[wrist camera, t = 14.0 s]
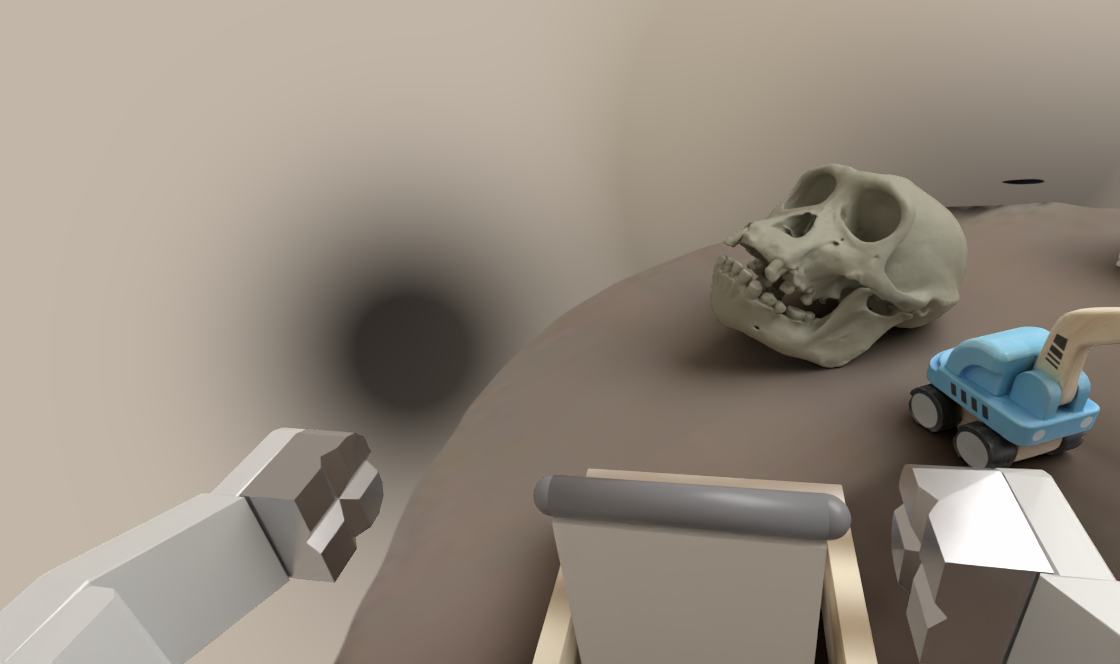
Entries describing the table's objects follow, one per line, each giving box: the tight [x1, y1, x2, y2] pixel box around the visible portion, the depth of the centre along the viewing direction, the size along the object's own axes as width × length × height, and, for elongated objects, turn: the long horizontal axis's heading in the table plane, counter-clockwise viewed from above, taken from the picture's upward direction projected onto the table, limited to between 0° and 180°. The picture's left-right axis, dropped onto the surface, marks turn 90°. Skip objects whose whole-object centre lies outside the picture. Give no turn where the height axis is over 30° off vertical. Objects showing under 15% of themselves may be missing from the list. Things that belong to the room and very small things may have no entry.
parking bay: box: [532, 469, 877, 664], centre depth 38 cm, size 20×18×6 cm
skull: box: [711, 164, 967, 368], centre depth 66 cm, size 18×21×28 cm
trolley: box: [533, 475, 851, 664], centre depth 33 cm, size 14×12×22 cm
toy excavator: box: [909, 307, 1120, 469], centre depth 45 cm, size 9×17×17 cm, turn 12°
